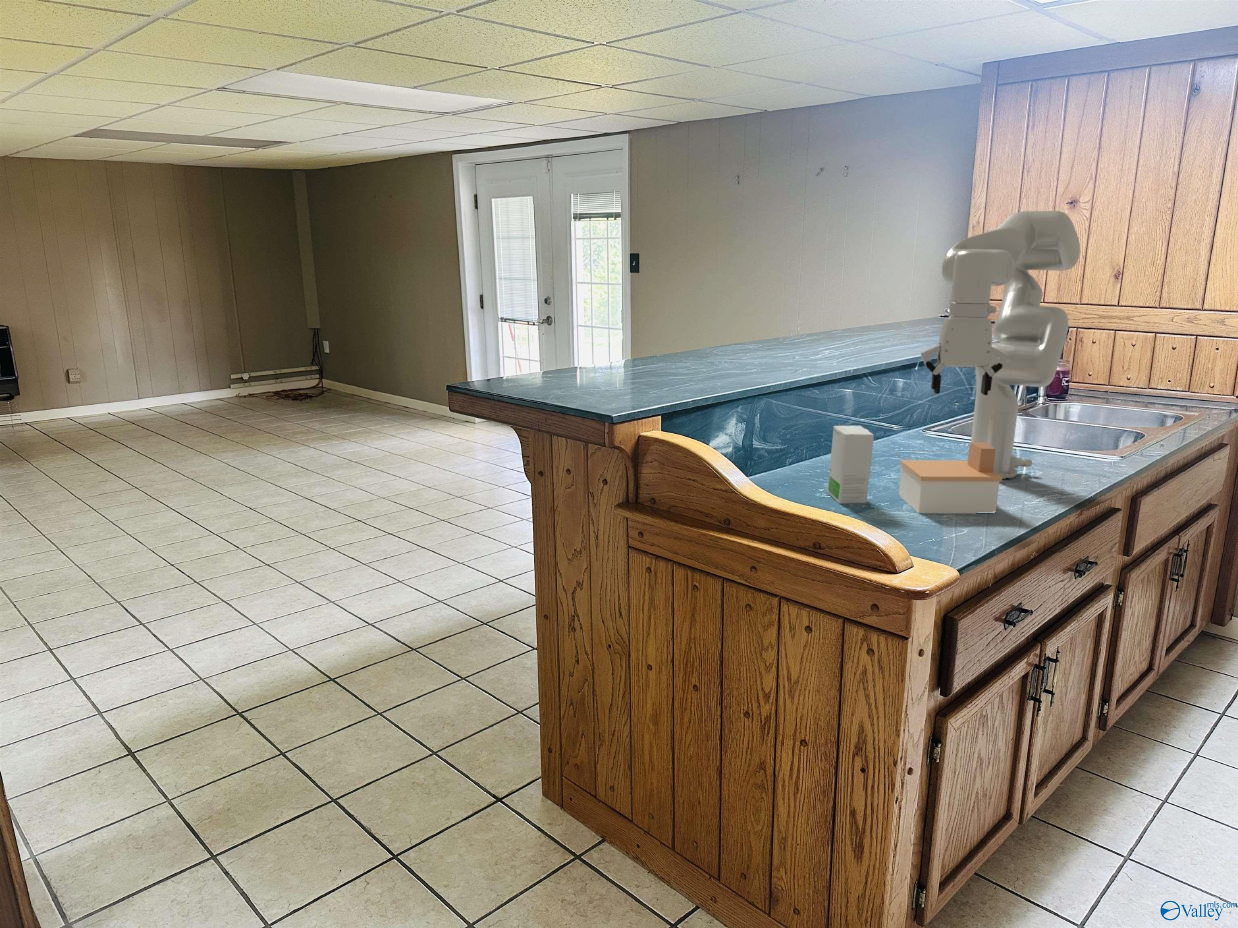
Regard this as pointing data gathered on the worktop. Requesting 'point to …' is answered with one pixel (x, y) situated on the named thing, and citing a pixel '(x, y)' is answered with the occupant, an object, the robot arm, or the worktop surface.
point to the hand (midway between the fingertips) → (960, 393)
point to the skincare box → (850, 464)
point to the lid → (957, 466)
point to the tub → (948, 495)
